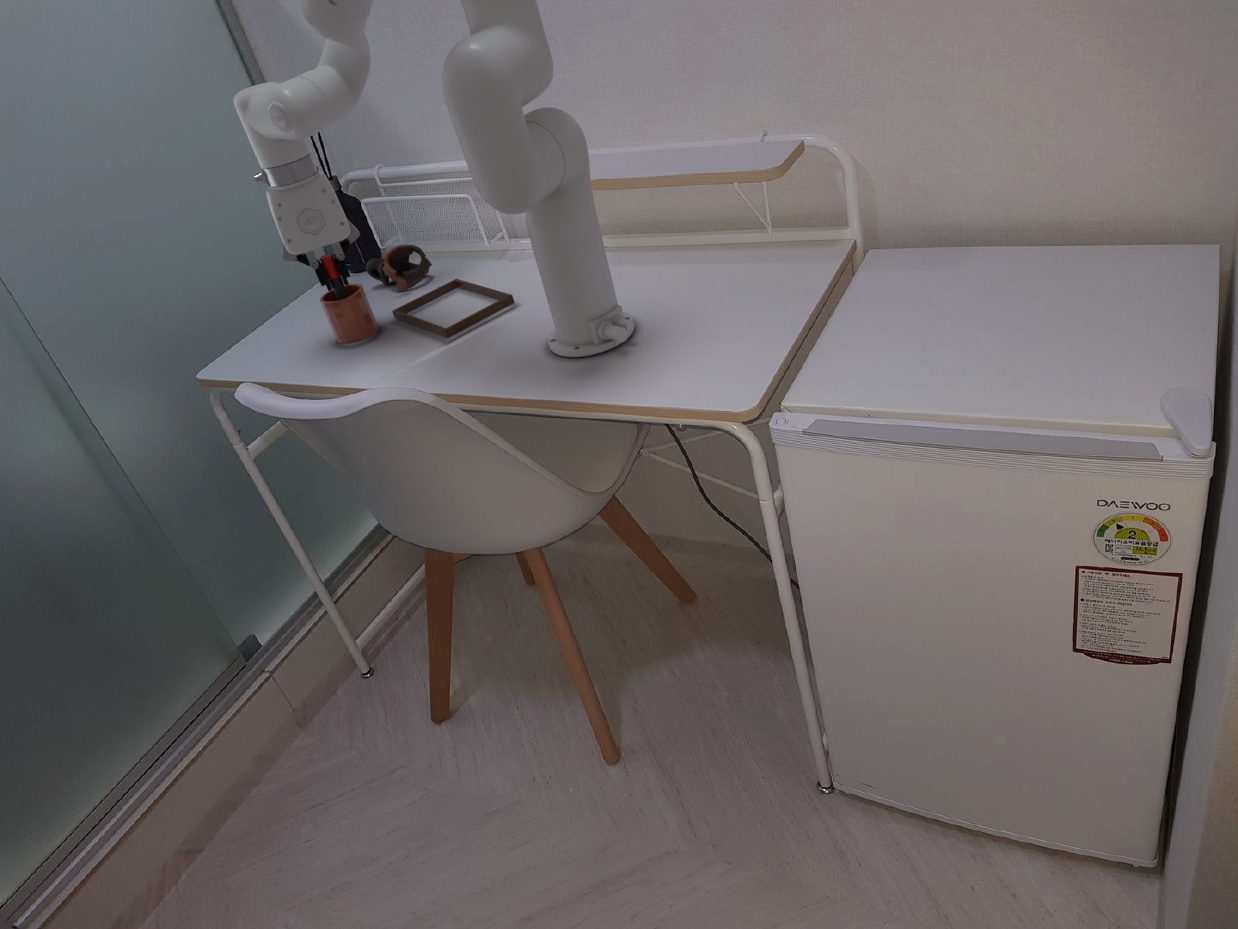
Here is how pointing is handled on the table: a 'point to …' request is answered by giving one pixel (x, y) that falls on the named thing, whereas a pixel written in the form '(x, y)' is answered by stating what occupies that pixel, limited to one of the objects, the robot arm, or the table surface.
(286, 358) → the table surface
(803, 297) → the table surface
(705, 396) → the table surface
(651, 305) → the table surface
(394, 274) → the pottery mug
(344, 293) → the marker
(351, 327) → the pen cup
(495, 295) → the tray
